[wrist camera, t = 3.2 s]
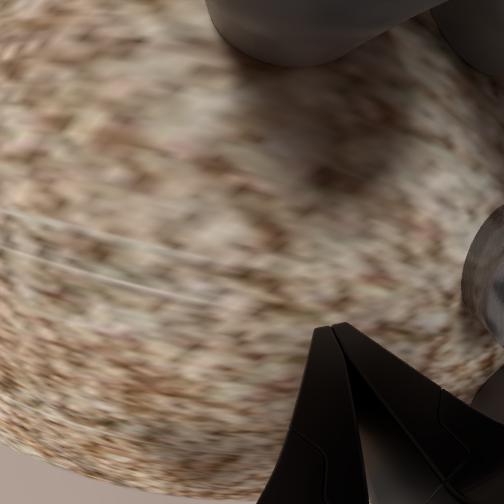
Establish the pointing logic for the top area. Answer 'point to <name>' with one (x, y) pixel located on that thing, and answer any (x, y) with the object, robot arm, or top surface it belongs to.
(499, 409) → the spacers
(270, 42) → the spacers
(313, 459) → the robot arm
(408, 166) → the top surface
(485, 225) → the grey metallic short cylinder
